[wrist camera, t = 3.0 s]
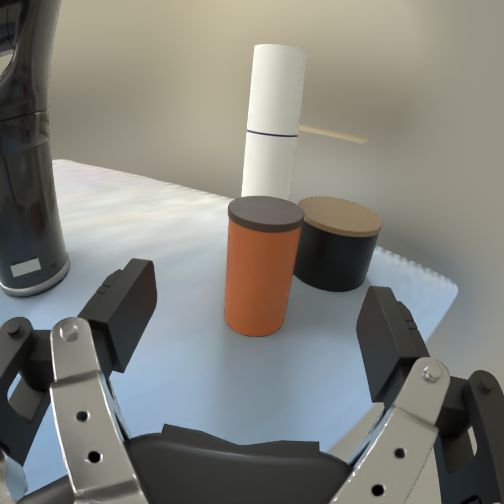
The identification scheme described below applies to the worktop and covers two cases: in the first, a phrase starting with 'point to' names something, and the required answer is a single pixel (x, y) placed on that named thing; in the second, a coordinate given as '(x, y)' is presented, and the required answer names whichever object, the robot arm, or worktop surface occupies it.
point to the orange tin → (260, 262)
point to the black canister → (335, 243)
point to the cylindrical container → (273, 120)
